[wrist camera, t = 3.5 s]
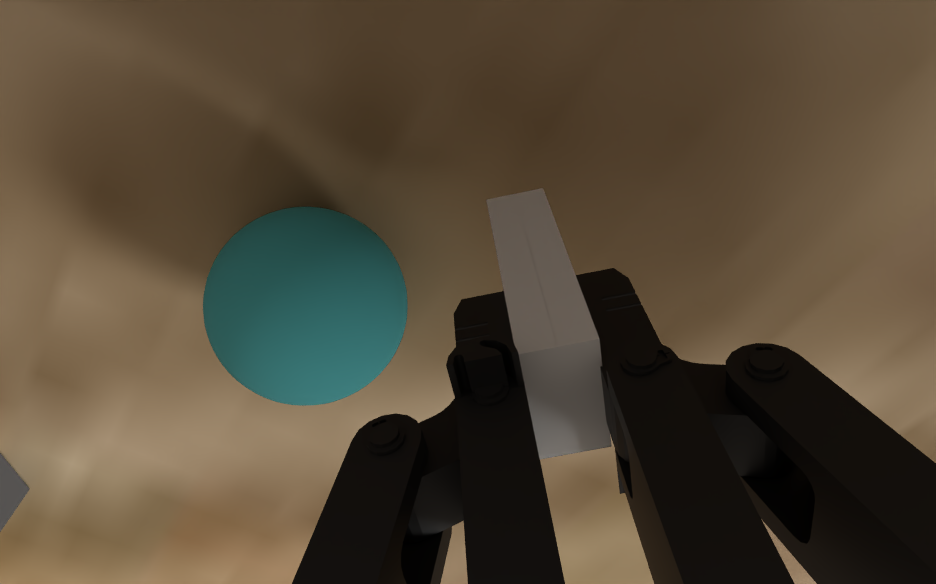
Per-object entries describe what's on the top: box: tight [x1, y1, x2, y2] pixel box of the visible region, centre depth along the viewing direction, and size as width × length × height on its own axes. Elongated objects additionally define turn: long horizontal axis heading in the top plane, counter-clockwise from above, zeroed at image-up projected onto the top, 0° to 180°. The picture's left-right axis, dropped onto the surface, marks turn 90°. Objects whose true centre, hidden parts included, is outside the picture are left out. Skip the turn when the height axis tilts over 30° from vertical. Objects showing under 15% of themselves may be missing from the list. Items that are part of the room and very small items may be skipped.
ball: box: [203, 207, 408, 405], centre depth 19 cm, size 6×6×6 cm
